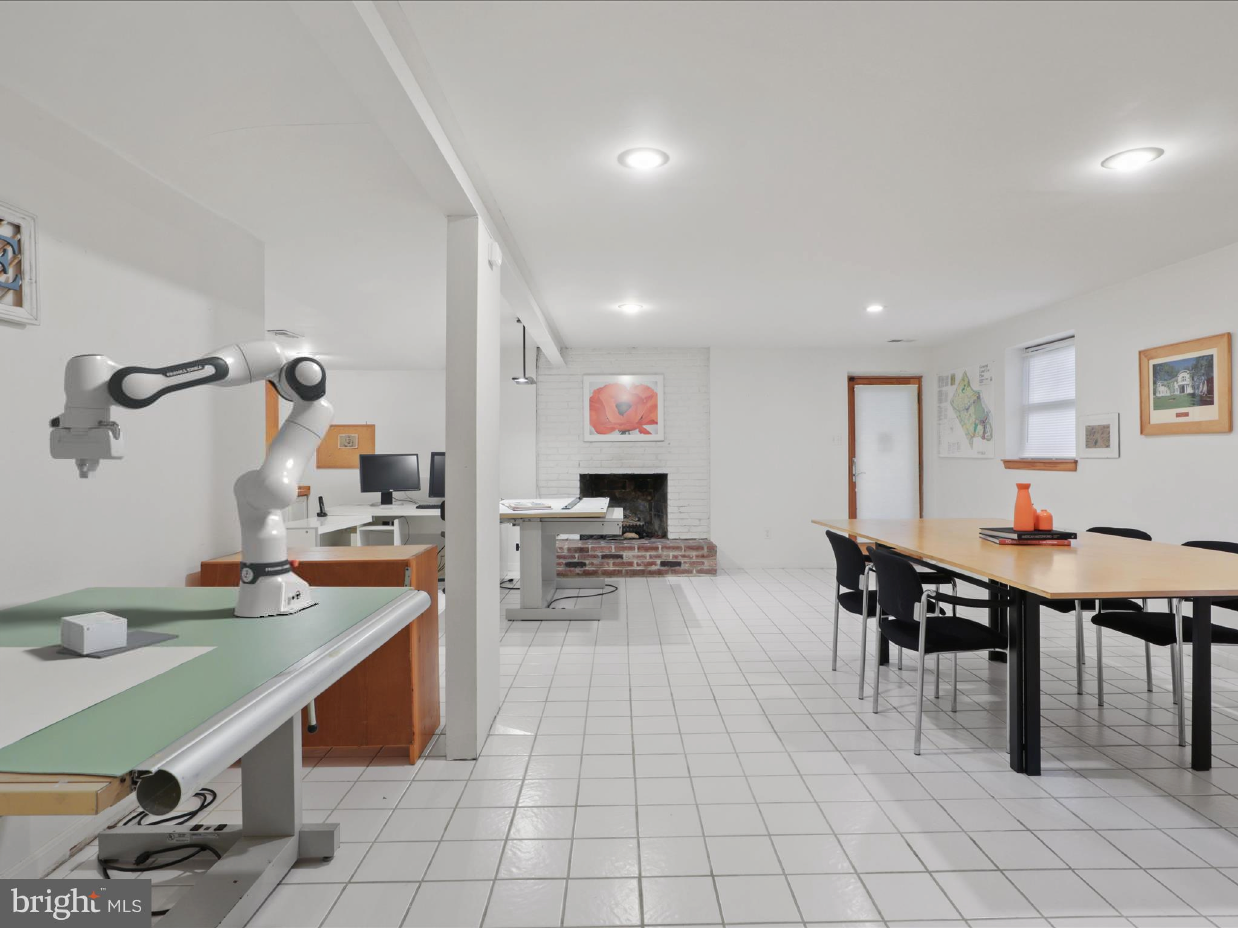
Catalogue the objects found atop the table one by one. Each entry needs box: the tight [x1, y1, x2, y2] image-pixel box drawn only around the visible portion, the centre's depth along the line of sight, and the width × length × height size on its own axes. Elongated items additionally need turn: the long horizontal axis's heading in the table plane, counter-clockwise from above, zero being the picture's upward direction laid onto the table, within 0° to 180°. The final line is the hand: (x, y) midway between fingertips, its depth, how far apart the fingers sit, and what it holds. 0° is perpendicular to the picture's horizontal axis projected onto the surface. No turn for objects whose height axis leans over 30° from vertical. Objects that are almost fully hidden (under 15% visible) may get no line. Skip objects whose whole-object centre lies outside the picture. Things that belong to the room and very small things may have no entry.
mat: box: [56, 630, 180, 659], centre depth 153 cm, size 18×13×1 cm
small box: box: [60, 611, 128, 655], centre depth 149 cm, size 8×6×13 cm
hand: (87, 478), depth 164 cm, fingers closed
